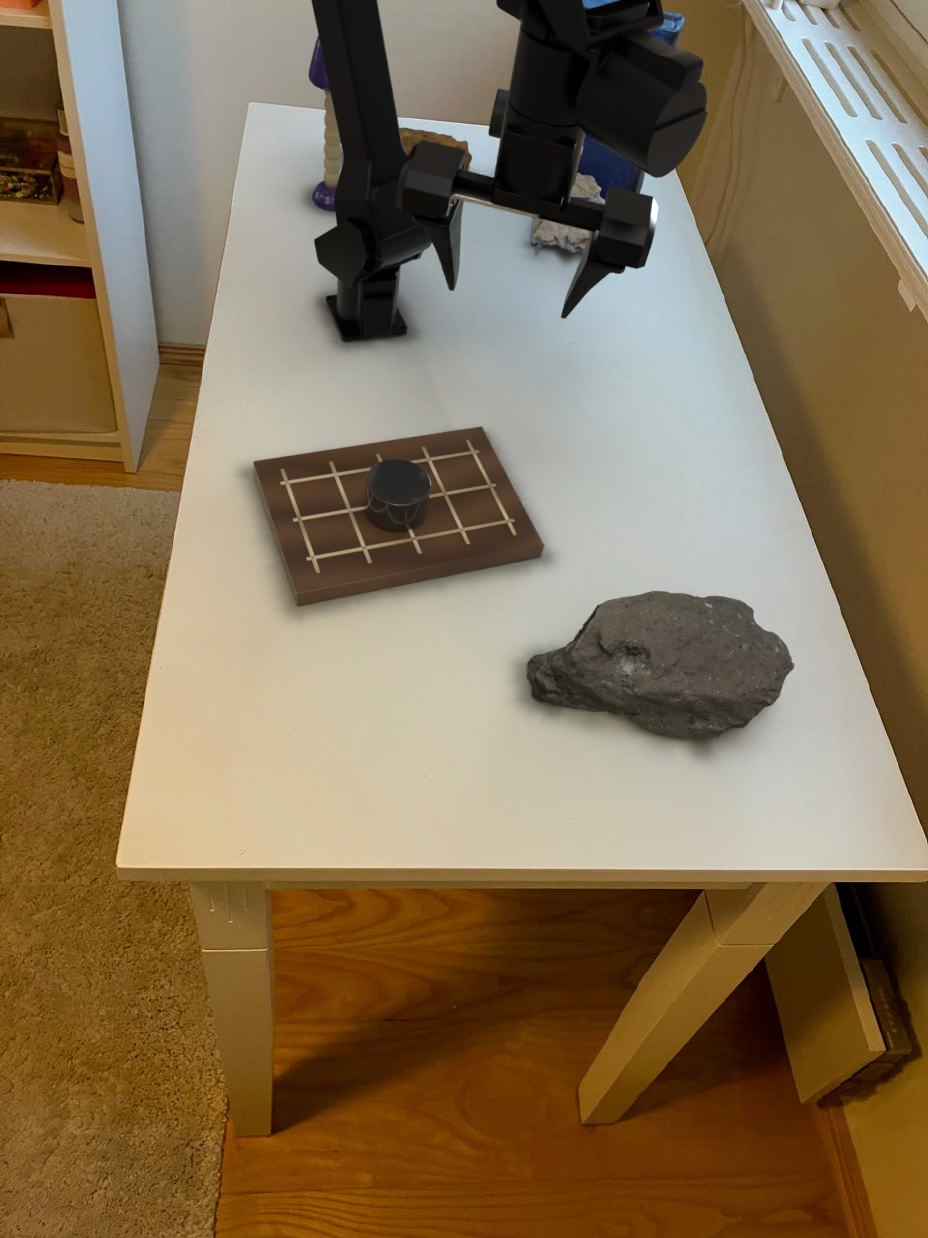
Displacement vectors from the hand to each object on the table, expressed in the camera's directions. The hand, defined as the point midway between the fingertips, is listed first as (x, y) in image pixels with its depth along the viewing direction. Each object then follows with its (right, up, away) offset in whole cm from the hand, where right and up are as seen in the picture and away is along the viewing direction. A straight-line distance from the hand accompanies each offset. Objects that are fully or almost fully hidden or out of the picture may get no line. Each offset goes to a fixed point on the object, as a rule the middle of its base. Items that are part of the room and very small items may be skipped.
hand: (508, 301), depth 77 cm
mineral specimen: (+8, +17, +29) cm, 35 cm away
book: (+9, +24, +34) cm, 43 cm away
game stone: (-9, -17, -1) cm, 19 cm away
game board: (-9, -17, +1) cm, 19 cm away
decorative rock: (-11, +25, +32) cm, 42 cm away
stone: (+10, -31, -6) cm, 33 cm away
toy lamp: (-18, +19, +26) cm, 37 cm away
